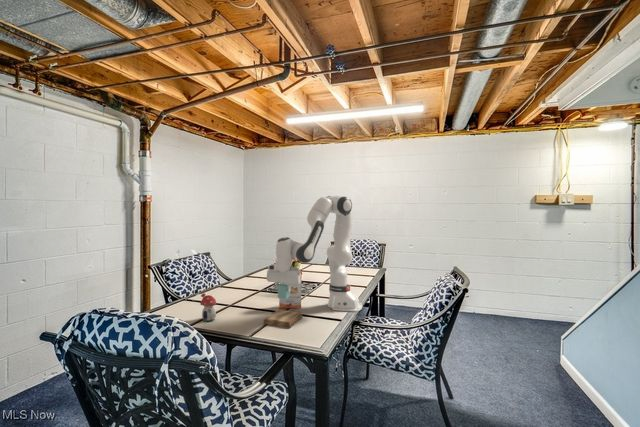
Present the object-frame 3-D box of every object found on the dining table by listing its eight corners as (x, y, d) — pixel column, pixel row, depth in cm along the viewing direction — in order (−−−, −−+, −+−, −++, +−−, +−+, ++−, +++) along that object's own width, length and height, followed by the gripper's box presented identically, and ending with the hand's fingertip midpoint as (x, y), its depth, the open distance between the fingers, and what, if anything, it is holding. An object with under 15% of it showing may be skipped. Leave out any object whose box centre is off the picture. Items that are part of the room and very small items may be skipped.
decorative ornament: (198, 320, 171) (198, 293, 170) (207, 316, 177) (207, 291, 176) (209, 323, 166) (209, 296, 166) (218, 319, 172) (218, 293, 172)
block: (289, 296, 172) (289, 284, 172) (285, 298, 167) (285, 286, 167) (282, 295, 174) (282, 283, 174) (277, 297, 169) (278, 285, 169)
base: (302, 317, 175) (302, 312, 175) (290, 328, 160) (290, 322, 160) (277, 313, 181) (277, 308, 181) (263, 323, 166) (263, 318, 166)
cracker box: (279, 309, 189) (279, 276, 188) (279, 305, 195) (279, 273, 194) (301, 308, 190) (301, 275, 189) (301, 305, 196) (301, 273, 195)
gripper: (302, 266, 169) (302, 291, 169) (270, 263, 176) (270, 287, 176) (298, 269, 163) (297, 294, 163) (265, 266, 170) (265, 290, 171)
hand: (283, 290), depth 170 cm, fingers closed on block, 5 cm apart
